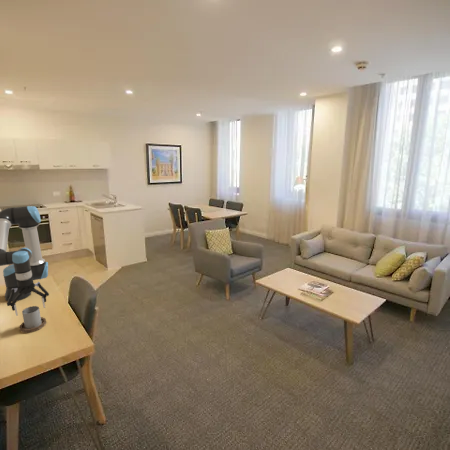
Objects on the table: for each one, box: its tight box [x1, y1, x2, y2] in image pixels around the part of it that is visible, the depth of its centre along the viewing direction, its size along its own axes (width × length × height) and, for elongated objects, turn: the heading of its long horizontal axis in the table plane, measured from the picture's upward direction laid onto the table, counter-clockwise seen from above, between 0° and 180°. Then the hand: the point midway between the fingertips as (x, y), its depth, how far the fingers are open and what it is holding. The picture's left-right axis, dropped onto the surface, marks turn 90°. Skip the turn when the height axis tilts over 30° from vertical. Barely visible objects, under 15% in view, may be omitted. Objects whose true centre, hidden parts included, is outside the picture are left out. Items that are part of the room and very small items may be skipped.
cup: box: [21, 305, 42, 329], centre depth 170 cm, size 8×8×10 cm
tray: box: [19, 316, 47, 334], centre depth 172 cm, size 13×13×2 cm
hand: (30, 310), depth 170 cm, fingers open, 13 cm apart
